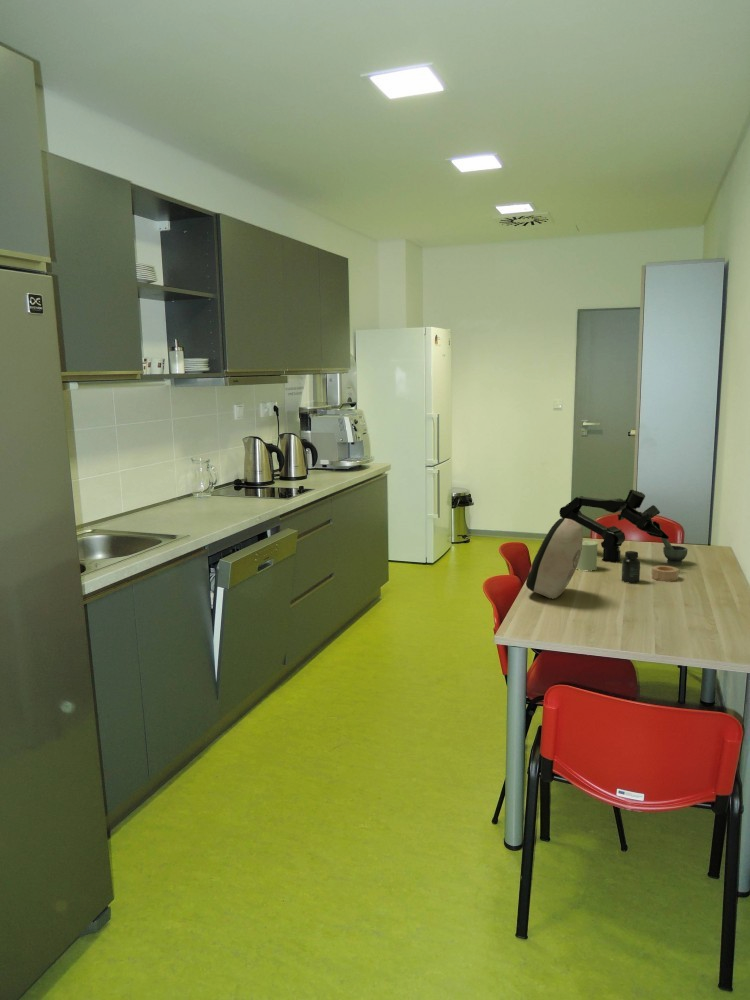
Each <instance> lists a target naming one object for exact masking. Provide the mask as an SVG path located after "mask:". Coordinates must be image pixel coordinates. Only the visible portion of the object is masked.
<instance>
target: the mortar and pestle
mask: <svg viewBox="0 0 750 1000" xmlns="http://www.w3.org/2000/svg"><path fill="white" fill-rule="evenodd" d="M668 539H669V538H668ZM668 539H664V538H660V540H661V541H662V543H663V548H662V550H663V551H662V552H663V556H664V557H665V558H666V559H667V560H666V563H667V564H668V565H671V566H672V565H673V566H681V565H683V560H684V559H685V558H686V557H687V555H688V548H687V547H685V546H681V545H672V543H670V541H669V540H668Z"/></svg>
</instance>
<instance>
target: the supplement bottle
mask: <svg viewBox="0 0 750 1000" xmlns="http://www.w3.org/2000/svg"><path fill="white" fill-rule="evenodd" d="M624 556H625V557H624V558H623V559H622V561H621V581H622V582H623V581H624V582H623V583H625V582H629V583H628V584H638V583H640V581H641V579H640V577H641V560H640V559H639V553H638V551H634V550H627V551H625V555H624ZM637 582H638V583H637Z"/></svg>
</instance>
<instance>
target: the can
mask: <svg viewBox="0 0 750 1000" xmlns="http://www.w3.org/2000/svg"><path fill="white" fill-rule="evenodd" d="M598 545H599V544H598V542H597V541H596V540H595V541H594V540H586V539H585V540H583V543H582V550H581V555H580V559H579V562H578V565H577V567H576V568H577V569H580V570H588V571H587V572H592V571H591V570H595V571H597V570H598V567H597V564H598V563H597V562H598V561H597V560H598ZM596 569H597V570H596Z"/></svg>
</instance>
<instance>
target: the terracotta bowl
mask: <svg viewBox="0 0 750 1000" xmlns="http://www.w3.org/2000/svg"><path fill="white" fill-rule="evenodd" d="M679 571H680V570H679V569H678V568H677V567H674V566H672V565H671V566H670V565H654V566H652V567H651V578H652V579H653V580H656V581H660V582H668V581H671V582H676V580H677V581H679Z"/></svg>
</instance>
